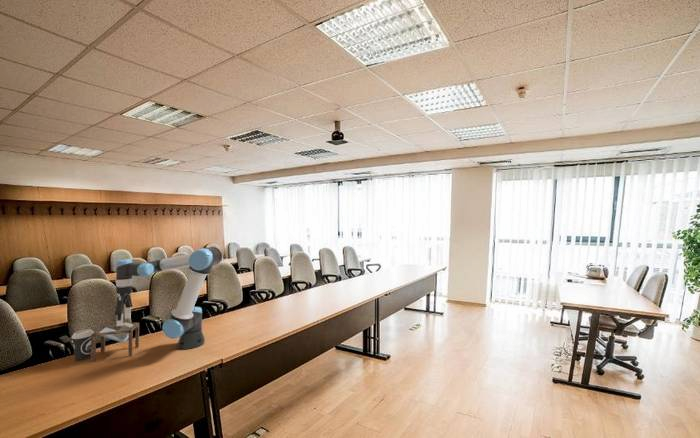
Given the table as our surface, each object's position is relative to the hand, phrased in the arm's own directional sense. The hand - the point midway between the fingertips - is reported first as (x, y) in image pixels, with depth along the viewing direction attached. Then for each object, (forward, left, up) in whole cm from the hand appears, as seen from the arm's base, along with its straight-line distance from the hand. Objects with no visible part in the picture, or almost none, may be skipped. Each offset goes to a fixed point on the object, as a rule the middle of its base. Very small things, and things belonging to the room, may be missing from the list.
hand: (123, 322), depth 173 cm
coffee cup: (+19, 0, -18) cm, 26 cm away
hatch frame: (+4, 0, -18) cm, 18 cm away
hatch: (+5, 0, -7) cm, 9 cm away
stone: (+1, 0, -8) cm, 8 cm away
